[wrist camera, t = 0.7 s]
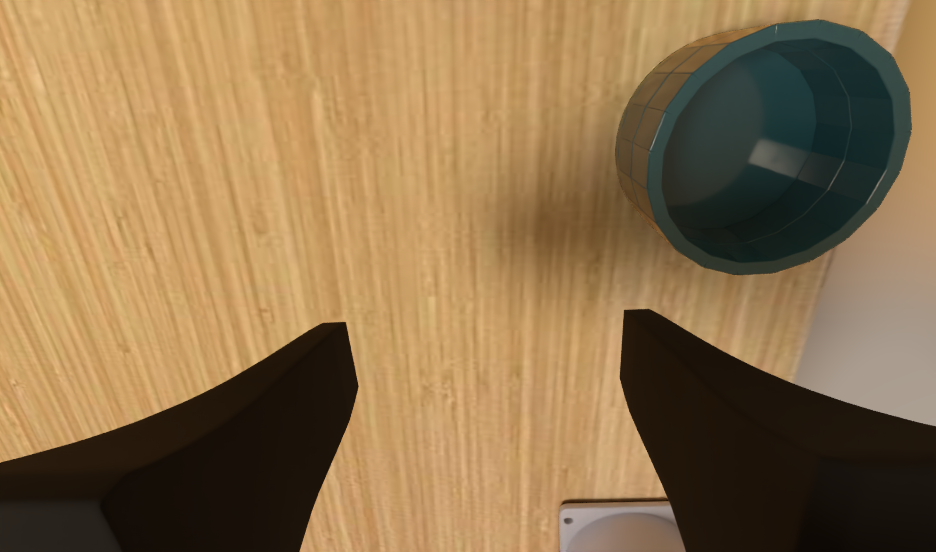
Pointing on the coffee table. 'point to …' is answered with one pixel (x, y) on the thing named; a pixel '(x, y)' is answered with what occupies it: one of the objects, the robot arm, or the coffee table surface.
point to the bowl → (765, 143)
